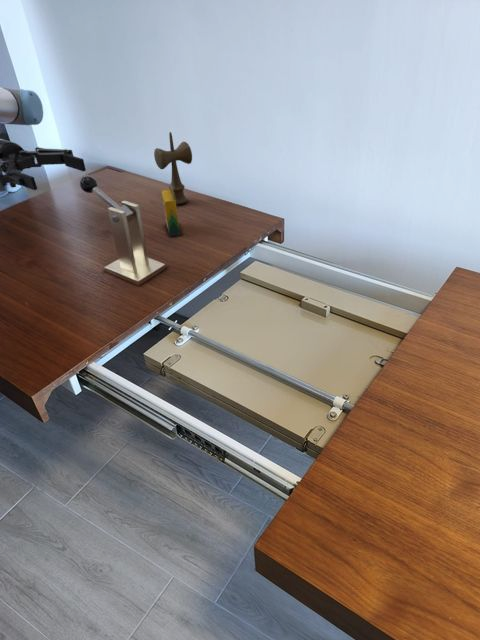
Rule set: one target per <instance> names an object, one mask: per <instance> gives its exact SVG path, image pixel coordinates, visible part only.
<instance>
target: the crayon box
mask: <svg viewBox="0 0 480 640" xmlns="http://www.w3.org/2000/svg"><path fill="white" fill-rule="evenodd" d="M169 183H170V184H169V185H171V182H169ZM171 189H172V185H171ZM161 198H162V204H163V211H164V218H165V224H166V228H167V231H168V236H169V237H171V238H172V237H178V236H181V233H180V232H181V231H180V225H179V223H180V222H179V216H178V209H177V205H176V200H175V195H174V192H173V189H172V190H170V189H164V190H161Z"/></svg>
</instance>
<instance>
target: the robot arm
mask: <svg viewBox="0 0 480 640" xmlns="http://www.w3.org/2000/svg"><path fill="white" fill-rule="evenodd" d="M43 119H44V107H43V103H42V100H41V97H39V95H38V94H37V92H35V91H34V90H30V89H29V90H28V89H23V88H20V89H12V88H6V87H1V86H0V125H17V126H38V125H40V124H41V123H42V121H43ZM49 165H50V166H51V165H65V167H69V168H71V169H74V170H77V171H80V172H85V171H87V169H86V164H85V161H84V158H81V157H77V156H74V153H73V150H72V149H66V148H64V149H61V148H44V147H39V146H37V147H35V148H34V150H31V151H29V150H25V149H24V148H23V147H22V146H21V145H20V144H18V143H16V142H14V141H11V140H6V139H3V138H0V187H5V186H7V184H9V186H10V188H11V189H12V188H17V186H22V187H24V188H27V189H30V190H33V191H36V190H38V185H37V182H36V180H35V177H34V176H32V175H29V174H26V173H23V171H24V170H26V169H27V170H28V169H31V168H41V167H42V166H49ZM3 173H5V174H3Z"/></svg>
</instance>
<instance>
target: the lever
mask: <svg viewBox="0 0 480 640" xmlns="http://www.w3.org/2000/svg"><path fill="white" fill-rule="evenodd" d="M79 186H80V189H81V190H82V191H83V192H85V193H88V194H95V195H96V196H97V197H98V198H99V199H100V200H102V201H103V202H104V203H105V204H106V205H107V206H108V207H109V208H110V207H113V208H116V209H119V210H122V211H125V213H126V218H127V223H129V222H131V221H132V220H133V214H134V212H133V211H131V210H130V209H129V208H128V207H127V206H125V205H123V206H122V205H119V204H118V203H117V202H115V201H114V200H113V199H112V198H111V197H109V196H108V195H107V194H106V193H105V192H104V191H102V189H100V188H99V187H98V182H97V180H96V178H94V177H93V176H92V175H84V176H83V177H81V178H80V179H79Z"/></svg>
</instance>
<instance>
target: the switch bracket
mask: <svg viewBox="0 0 480 640" xmlns="http://www.w3.org/2000/svg"><path fill="white" fill-rule="evenodd" d="M123 205H125V206H127V207H128V208H129V209H130V210H131V211H133V212H134V214H133V220H132V221H131V222H129V223H127V218H126V213H125V211H122V210H119V209H116V208H113V207H110V206H109V207H107V213H108V217H109V221H110V226H111V229H112V230H111V231H112V235H113V239H114V244H115V248H116V252H117V258H118V259H117V260H114V261H113V262H111V263H109V264H107V265H105V266H103V267H104V272H106V273H108V274H111V275H112V276H115V277H117V278H120V279H122V280H124V281H127V282H129V283H131V284H134V285H136V286H141V285H143V284H144V283H146V282H147V281H149V280H151V279H153V277H155V276H157V275H158V274H159V273H161V272H163V271H165V270H166V269H167V266H166V265H167V264H166V263H163V262H161V261H158V260H155V259H153V258H150V257H149V255H148V250H147V244H146V237H145V233H144V232H145V231H144V226H143V221H142V215H141V209H140V204H137V203H134V202H130V201H127V200H122V201H121V206H123Z"/></svg>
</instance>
